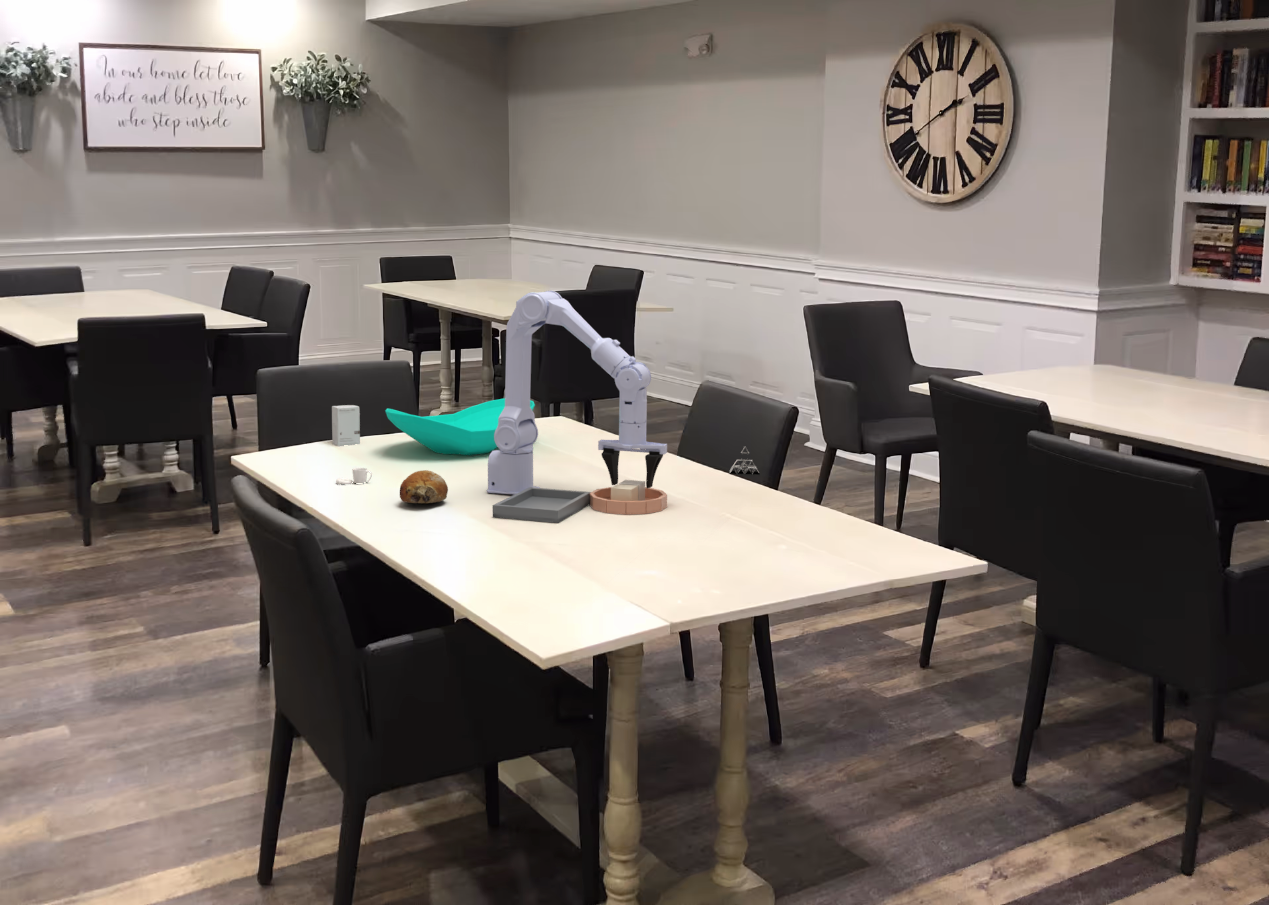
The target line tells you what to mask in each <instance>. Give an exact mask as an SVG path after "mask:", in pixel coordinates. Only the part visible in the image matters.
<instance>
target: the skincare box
mask: <svg viewBox="0 0 1269 905" xmlns="http://www.w3.org/2000/svg"><path fill="white" fill-rule="evenodd" d="M360 412H361V411H360V406H358V405H354V404H347V405H345V404H344V405H343V404H342V405H332V406H331V430H332V431H331V432H332V433H331V434H332V439H331V440H332V445H334V446H336V447H345V446H344V445H348V446H354V445H355V444H357V445H360V444H361V433H360V432H361V430H360V428H361V427H360V426H361V424H360V423H361V422H360V420H361V419H360V415H361V413H360ZM355 446H356V445H355Z"/></svg>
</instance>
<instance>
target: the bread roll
mask: <svg viewBox="0 0 1269 905" xmlns="http://www.w3.org/2000/svg"><path fill="white" fill-rule="evenodd" d="M448 491H449V487H448V484H447V482H446V480H445V478H443V477H442V476H441V475H440V474H438V473H436V472H434V471H431V470H429V469H428V470H427V469H426V470H417V471H414V472H412V473H410V474H409V475H408V476H407V477H406V478H405V479H403V481H402V482H401V484H400V488H399V498H400V500H401V501H402V502H403V503H409V504H433V503H441V502H442V501H444V500H446V499H447V496H448Z"/></svg>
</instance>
